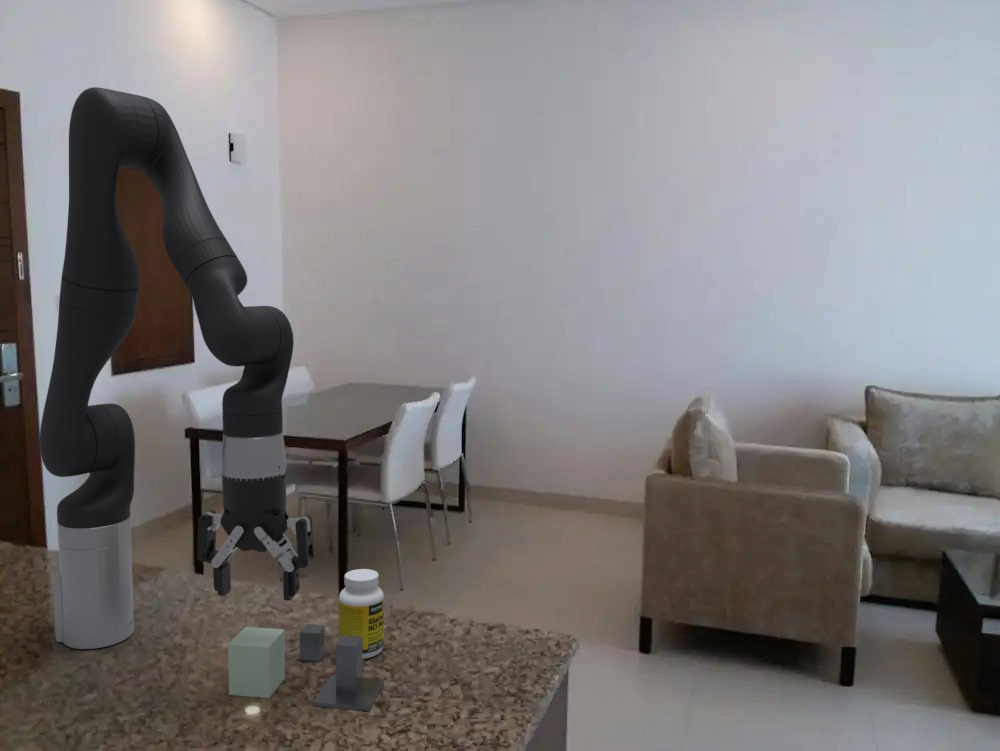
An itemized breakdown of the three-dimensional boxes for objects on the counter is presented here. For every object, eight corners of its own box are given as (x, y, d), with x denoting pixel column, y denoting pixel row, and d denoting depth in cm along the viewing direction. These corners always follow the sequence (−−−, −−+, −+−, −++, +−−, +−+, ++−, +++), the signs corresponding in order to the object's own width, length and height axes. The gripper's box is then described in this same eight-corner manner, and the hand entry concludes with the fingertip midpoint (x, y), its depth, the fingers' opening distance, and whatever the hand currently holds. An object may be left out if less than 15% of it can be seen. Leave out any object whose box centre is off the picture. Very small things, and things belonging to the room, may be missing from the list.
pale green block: (229, 694, 103) (228, 644, 103) (246, 674, 109) (246, 626, 108) (269, 698, 103) (268, 647, 102) (285, 678, 108) (284, 629, 107)
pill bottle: (374, 663, 113) (374, 584, 111) (331, 657, 114) (331, 580, 112) (389, 643, 119) (390, 568, 117) (348, 638, 120) (348, 564, 119)
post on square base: (312, 705, 101) (312, 651, 100) (331, 678, 108) (331, 627, 107) (368, 710, 100) (368, 655, 99) (383, 682, 107) (384, 631, 106)
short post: (299, 660, 113) (299, 632, 112) (306, 651, 115) (306, 624, 115) (318, 661, 113) (318, 633, 112) (324, 653, 115) (324, 625, 115)
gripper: (184, 473, 99) (188, 604, 101) (298, 478, 98) (301, 611, 99) (213, 460, 107) (216, 582, 109) (320, 464, 105) (322, 588, 107)
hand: (257, 596), depth 104 cm, fingers open, 8 cm apart
